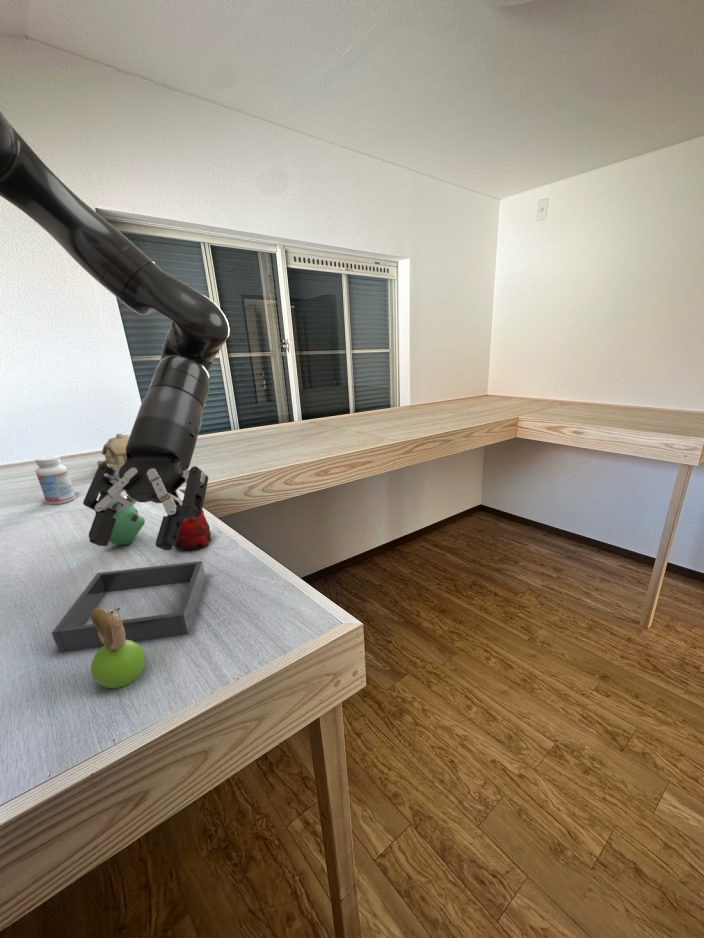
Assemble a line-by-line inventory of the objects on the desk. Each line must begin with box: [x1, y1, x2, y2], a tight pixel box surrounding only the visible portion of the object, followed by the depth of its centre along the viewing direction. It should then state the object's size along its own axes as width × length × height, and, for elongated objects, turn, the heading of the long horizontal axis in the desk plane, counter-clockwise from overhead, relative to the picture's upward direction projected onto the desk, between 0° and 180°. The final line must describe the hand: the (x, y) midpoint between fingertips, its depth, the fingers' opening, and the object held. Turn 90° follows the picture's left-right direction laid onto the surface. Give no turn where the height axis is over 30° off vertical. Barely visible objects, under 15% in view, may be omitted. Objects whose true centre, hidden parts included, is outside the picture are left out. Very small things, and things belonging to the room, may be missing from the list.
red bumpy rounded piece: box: [174, 500, 212, 551], centre depth 79 cm, size 8×7×15 cm
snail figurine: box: [90, 605, 146, 689], centre depth 48 cm, size 5×6×12 cm
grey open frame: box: [51, 560, 207, 654], centre depth 61 cm, size 16×15×4 cm
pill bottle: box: [34, 454, 77, 505], centre depth 102 cm, size 6×6×11 cm
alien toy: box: [109, 502, 146, 546], centre depth 81 cm, size 7×8×10 cm
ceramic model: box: [96, 433, 130, 468], centre depth 130 cm, size 14×11×10 cm
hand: (130, 546), depth 50 cm, fingers open, 8 cm apart
